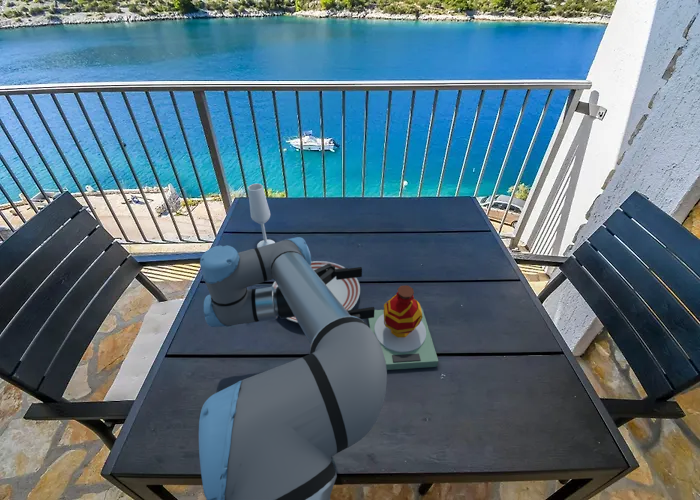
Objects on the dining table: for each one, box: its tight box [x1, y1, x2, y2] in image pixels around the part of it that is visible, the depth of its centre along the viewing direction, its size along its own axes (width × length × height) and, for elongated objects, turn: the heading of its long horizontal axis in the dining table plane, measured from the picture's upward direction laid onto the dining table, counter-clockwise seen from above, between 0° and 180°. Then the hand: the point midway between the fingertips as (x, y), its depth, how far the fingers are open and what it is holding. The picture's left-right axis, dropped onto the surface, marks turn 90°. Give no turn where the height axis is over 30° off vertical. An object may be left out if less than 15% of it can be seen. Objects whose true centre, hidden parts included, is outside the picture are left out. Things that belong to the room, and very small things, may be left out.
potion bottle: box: [383, 284, 423, 337], centre depth 90 cm, size 10×10×15 cm
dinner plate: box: [271, 260, 361, 324], centre depth 108 cm, size 28×27×3 cm
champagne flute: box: [247, 183, 276, 248], centre depth 121 cm, size 7×7×24 cm
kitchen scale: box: [367, 307, 439, 371], centre depth 95 cm, size 18×16×3 cm
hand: (367, 290), depth 83 cm, fingers open, 13 cm apart
